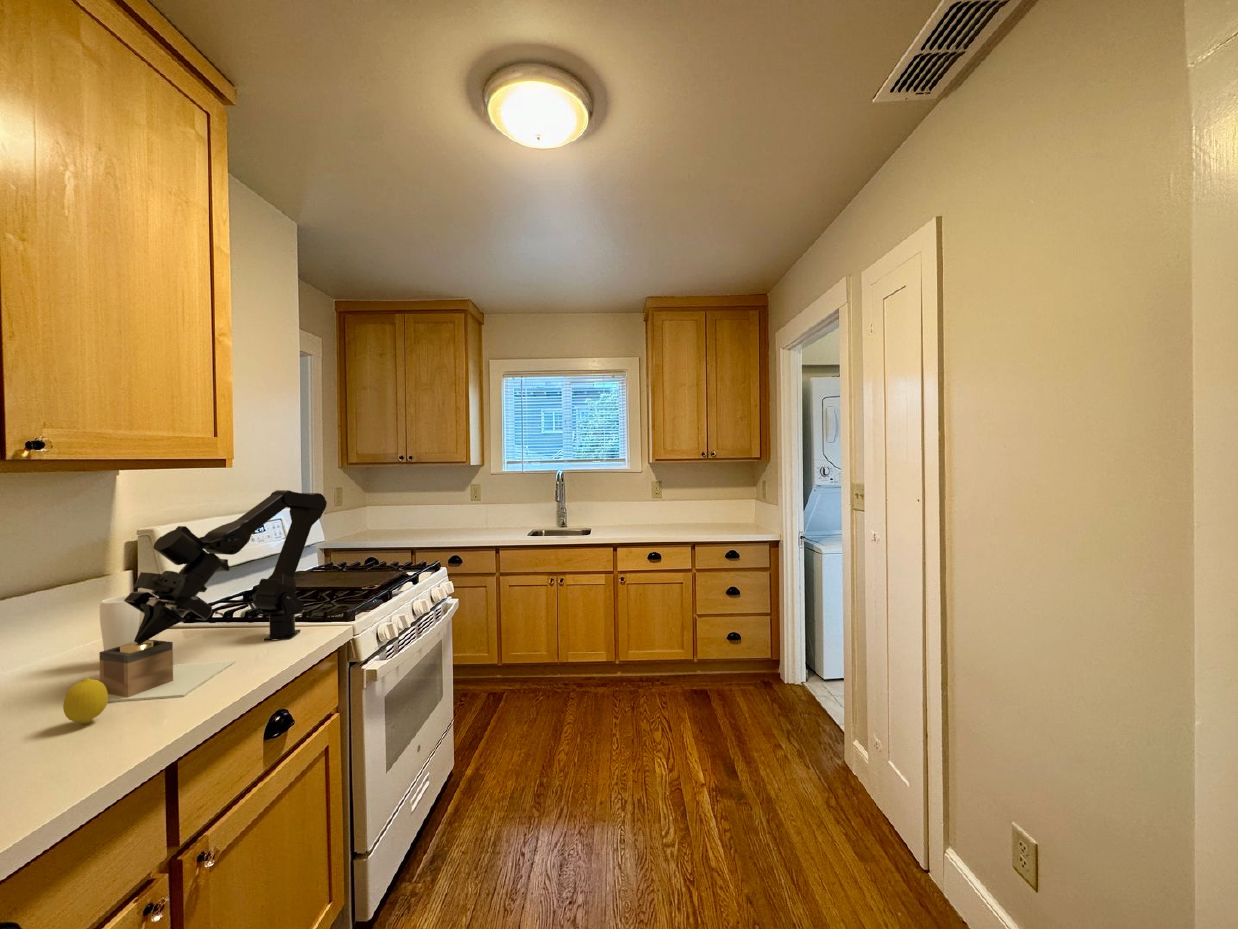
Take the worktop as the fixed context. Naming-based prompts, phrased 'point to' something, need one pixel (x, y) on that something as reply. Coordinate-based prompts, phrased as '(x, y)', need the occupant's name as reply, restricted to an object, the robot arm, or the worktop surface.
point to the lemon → (85, 701)
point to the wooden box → (136, 669)
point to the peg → (135, 646)
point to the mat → (180, 681)
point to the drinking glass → (118, 622)
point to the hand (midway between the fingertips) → (137, 642)
